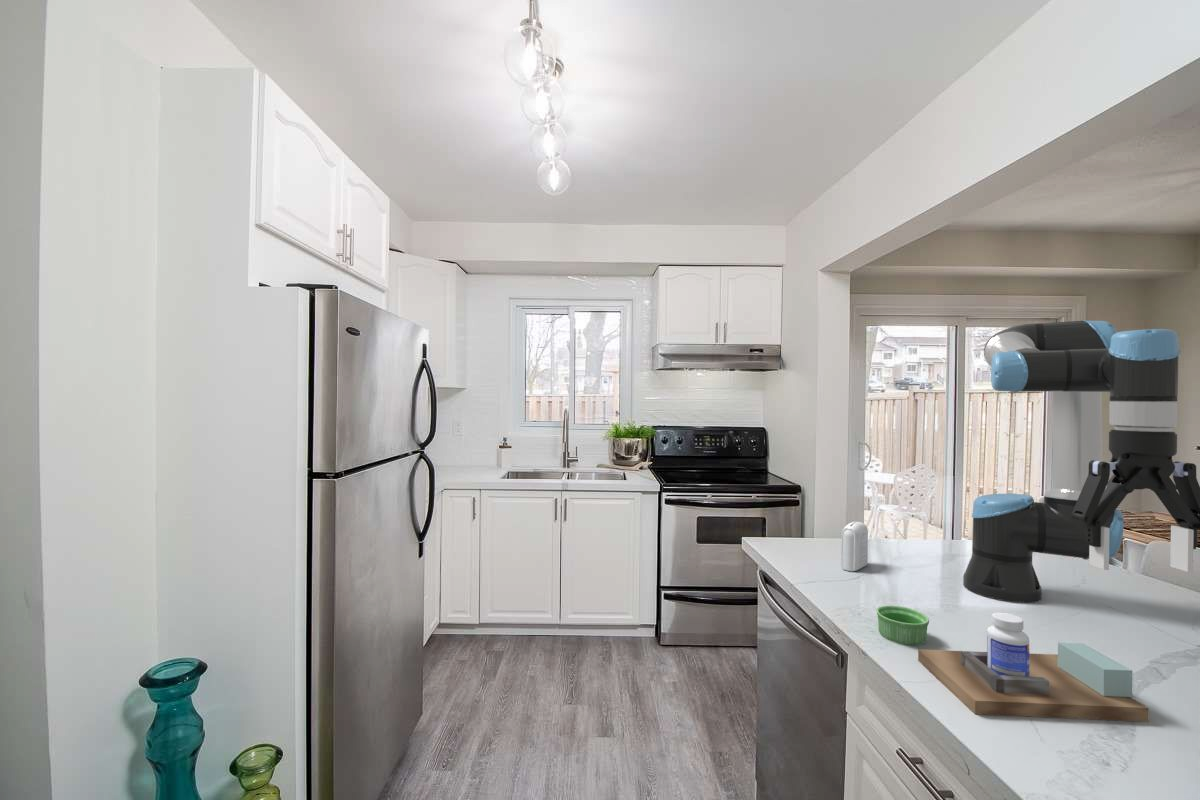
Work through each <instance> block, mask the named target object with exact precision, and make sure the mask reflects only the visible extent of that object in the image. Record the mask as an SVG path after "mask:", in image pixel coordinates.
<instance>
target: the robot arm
mask: <svg viewBox="0 0 1200 800" xmlns="http://www.w3.org/2000/svg"><path fill="white" fill-rule="evenodd" d="M1180 354H1181V349H1180V348H1179V338H1178V334H1177V332H1176V331H1174V330H1172V329H1167V328H1151V329H1149V328H1148V329H1147V328H1145V329H1134V330H1123V331H1117V329H1116V327H1115V326H1114V325H1113V324H1112V323H1110V322H1109V321H1106V320H1085V319H1083V320H1075V321H1074V320H1070V321H1057V322H1042V323H1025V324H1020V325H1014V326H1011V327H1008V328H1005V329H1003V330H1000V331H999V332H997V333H995V334H994V335H992V336H991V337H990V338H989V339H988V340H987V341H986V343H985V345H984V347H983V357H984V359H985V362H986V363H987V364H988V366H989V367H990V383H991V387H992V389H994V390H995V391H997V392H1010V393H1019V392H1020V393H1021V392H1026V393H1027V392H1052V396H1051V398H1052V403H1051V404H1052V406H1051V407H1052V415H1051V416H1052V420H1051V421H1052V488H1051V489H1050V490H1049V491H1047V492H1046V493H1045V494H1044V495H1043V502H1040V501H1039V502H1038V501H1037V502H1036V501H1035V499H1034V497H1033V496H1032V495H1029V494H1023V493H1021V494H1020V493H991V494H983V495H980V496H978V497H976V498H975V499H974V500H973V506H972V513H971V517H972V546H971V557H970V559H969V562H968V564H967V566H966V569H965V572H964V573H963V578H962V579H963V580H962V581H963V582H962V583H963V584H962V585H963V587H964V588H965V589H967V590H969V591H970V592H972V593H974V594H977V595H980V596H984V597H986V598H991V599H995V600H999V601H1004V602H1012V603H1025V604H1026V603H1028V604H1029V603H1037V602H1039V601H1041V600H1042V596H1043V595H1042V591H1043V590H1042V586H1041V584H1040V581H1039V579H1038V576H1037V573H1036V570H1035V568H1034V565H1033V553H1036V554H1037V553H1039V554H1045V555H1053V556H1054V555H1055V556H1062V557H1069V558H1071V557H1072V558H1079V559H1080V558H1081V559H1082V560H1088V565H1090V566H1092V567H1095V568H1098V569H1101V570H1103V571H1109V570H1110V568H1109V567H1110V560H1111V559H1113V558H1114V557H1115V556H1117V554H1118V552H1119V550H1120V549H1121V545H1122V542H1123V537H1124V536H1123V535H1124V530H1125V528H1124V527H1125V526H1124V525H1125V524H1124V516H1123V513H1122V511H1121V510H1120V509H1118V507H1119V505H1121V503H1122V502H1123V500H1124V499H1125V498H1126V497H1127V495H1129V494H1131V493H1133V492H1134V491H1135V490H1145V489H1148V490H1151V491H1152V492H1154V494H1155V495H1156V497H1157V498H1158V500H1159V501H1161V503H1162V504H1163V506H1164V508H1166V511H1168V513H1169V514H1170V515H1171V517H1172V519H1174V521H1175V523H1176V524H1177V525H1170V555H1169V556H1170V558H1169V559H1170V560H1169V561H1170V562H1169V563H1170V564H1169V565H1170V567H1171V568H1173V569H1177V570H1179V571H1183V572H1186V573H1193V572H1194V550H1196V549H1197V546H1198V531H1200V484H1199V481H1198V478H1197V465H1196V464H1195V463H1193V462H1192V463H1191V462H1185V461H1174V460H1173V456H1176V455H1177V453H1178V434H1177V433H1176V432H1175V431H1173V429H1176V428H1177V427H1178V397H1179V396H1178V391H1179V389H1178V387H1179V358H1180V357H1179V356H1180ZM1103 393H1109V409H1108V410H1109V415H1108V416H1109V417H1108V418H1109V419H1108V421H1109V422H1108V423H1109V426H1111V427H1113V429H1111V430H1110V431H1108V451H1110V453H1111V459H1110V461H1109V462H1108V461H1103ZM1111 475H1112V476H1111ZM1171 475H1172V478H1171V477H1170V476H1171ZM1110 476H1111V477H1110Z"/></svg>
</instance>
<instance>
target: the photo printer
mask: <svg viewBox="0 0 1200 800" xmlns="http://www.w3.org/2000/svg"><path fill="white" fill-rule="evenodd" d="M868 540H869V528H868V527H867V524H865V523H864V522H862V521H852V522H849V523H848V524H846V525H845V526H844V528H843V529H842V532H841V562H840V563H841V569H843V570H844V571H847V572H856V571H858V570H861V569H863V568H864V567H866V566H867V565H868V561H869V560H868V559H869V558H868V556H869V554H868V553H869V552H868V551H869V550H868V549H869V545H868V544H869V541H868Z"/></svg>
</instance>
